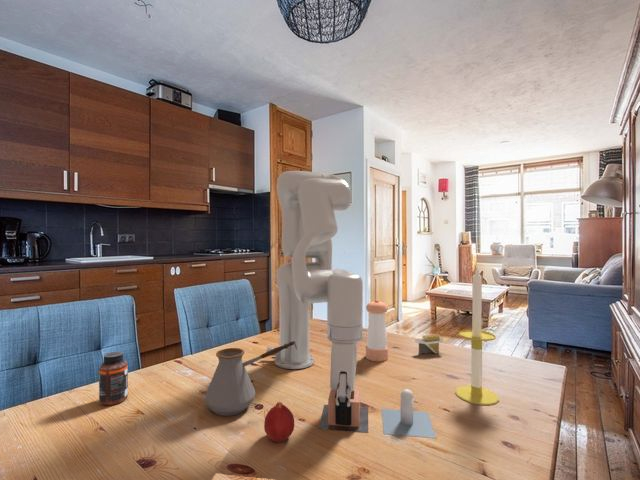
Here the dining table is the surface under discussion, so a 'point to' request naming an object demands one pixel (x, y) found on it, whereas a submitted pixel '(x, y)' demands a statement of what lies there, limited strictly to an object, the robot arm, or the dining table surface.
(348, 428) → the stand
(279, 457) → the dining table surface
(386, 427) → the blue peg base
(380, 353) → the salt shaker
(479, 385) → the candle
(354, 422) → the collar
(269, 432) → the onion
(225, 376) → the coffee pot
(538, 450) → the dining table surface
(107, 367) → the supplement bottle
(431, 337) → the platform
